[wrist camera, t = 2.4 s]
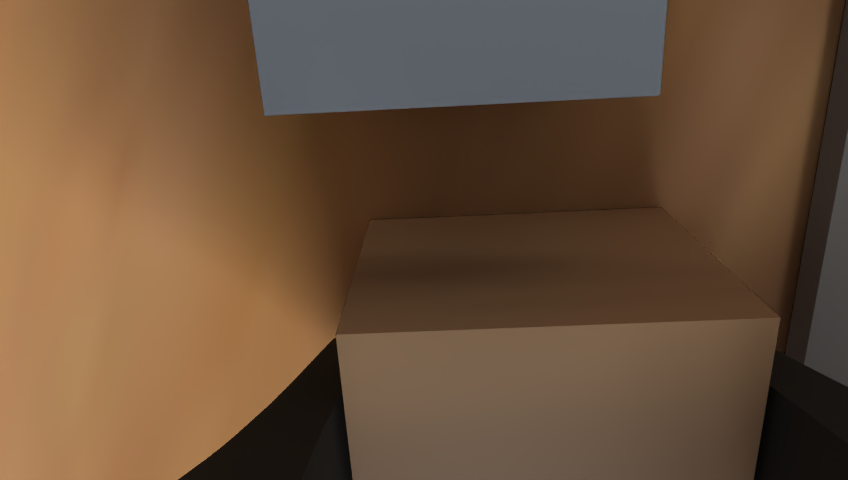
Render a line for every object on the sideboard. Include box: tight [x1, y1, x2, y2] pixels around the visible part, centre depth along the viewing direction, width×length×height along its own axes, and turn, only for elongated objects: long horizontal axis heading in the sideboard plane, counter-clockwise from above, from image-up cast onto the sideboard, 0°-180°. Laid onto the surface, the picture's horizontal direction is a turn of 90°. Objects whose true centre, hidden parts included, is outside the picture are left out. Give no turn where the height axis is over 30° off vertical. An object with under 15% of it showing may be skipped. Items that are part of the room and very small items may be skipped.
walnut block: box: [336, 207, 780, 480], centre depth 10 cm, size 5×5×4 cm
